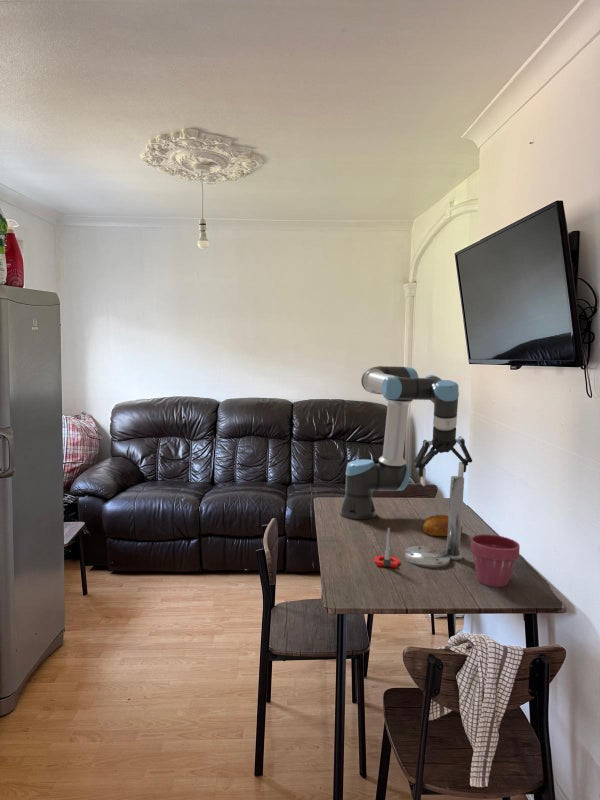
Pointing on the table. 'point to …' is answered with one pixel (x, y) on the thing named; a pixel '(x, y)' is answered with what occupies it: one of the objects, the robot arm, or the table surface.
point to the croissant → (437, 525)
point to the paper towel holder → (440, 557)
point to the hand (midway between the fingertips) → (441, 482)
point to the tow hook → (387, 556)
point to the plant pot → (494, 558)
